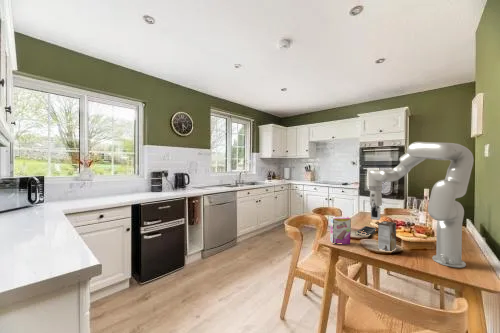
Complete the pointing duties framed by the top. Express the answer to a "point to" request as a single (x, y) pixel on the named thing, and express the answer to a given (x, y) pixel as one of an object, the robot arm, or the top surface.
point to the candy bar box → (340, 230)
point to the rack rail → (367, 230)
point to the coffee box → (387, 236)
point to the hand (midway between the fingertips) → (375, 216)
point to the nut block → (377, 214)
